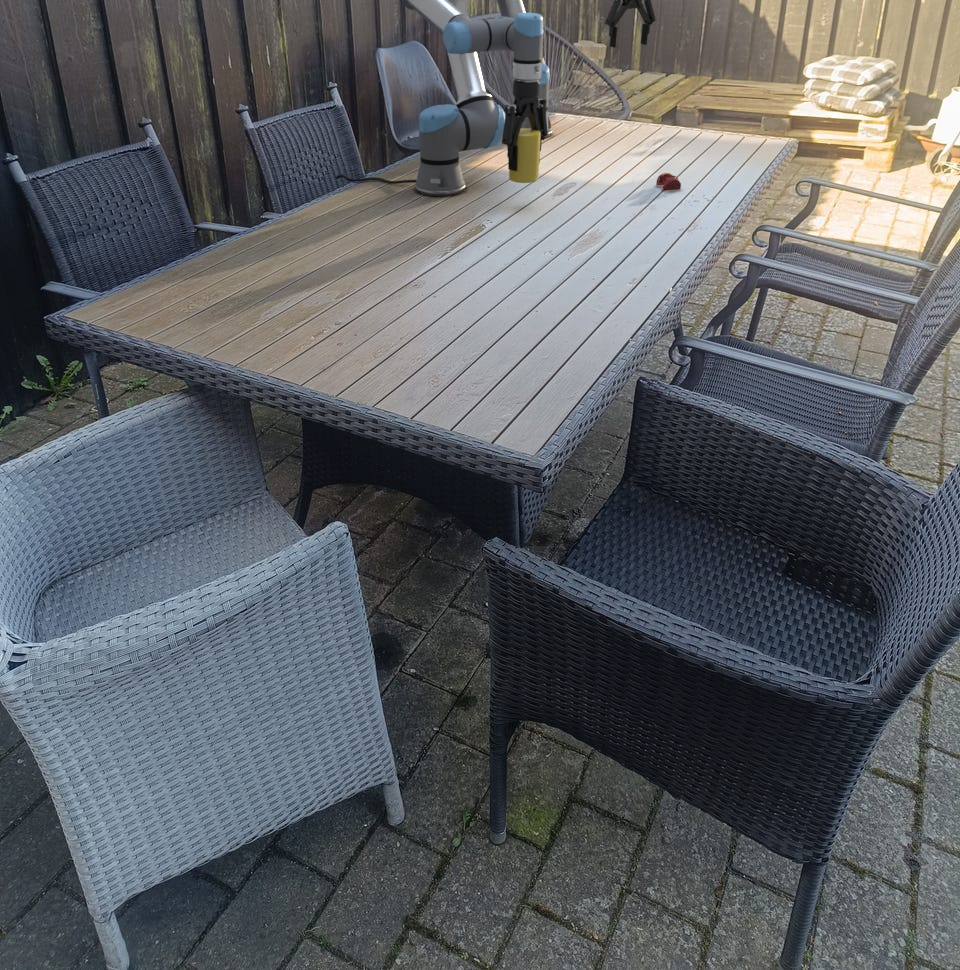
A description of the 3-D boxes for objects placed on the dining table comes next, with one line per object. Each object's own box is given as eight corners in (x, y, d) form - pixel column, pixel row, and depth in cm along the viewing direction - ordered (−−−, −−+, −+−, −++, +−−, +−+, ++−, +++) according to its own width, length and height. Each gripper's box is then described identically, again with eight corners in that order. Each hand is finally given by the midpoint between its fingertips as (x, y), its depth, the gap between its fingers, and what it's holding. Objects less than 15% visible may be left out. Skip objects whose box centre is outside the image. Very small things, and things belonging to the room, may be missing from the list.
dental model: (672, 169, 261) (683, 176, 255) (671, 183, 263) (682, 190, 257) (655, 171, 260) (666, 178, 254) (654, 185, 262) (665, 192, 256)
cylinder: (509, 174, 244) (510, 128, 236) (538, 174, 244) (540, 128, 236) (509, 182, 237) (510, 135, 230) (538, 183, 237) (541, 136, 229)
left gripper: (508, 87, 217) (506, 177, 230) (564, 76, 229) (559, 162, 242) (488, 82, 221) (487, 171, 235) (543, 72, 233) (540, 157, 247)
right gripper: (610, -20, 288) (605, 49, 300) (670, -23, 297) (662, 44, 309) (598, -22, 293) (593, 46, 306) (657, -25, 302) (650, 41, 315)
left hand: (524, 166), depth 238 cm, fingers closed on cylinder, 8 cm apart
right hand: (628, 45), depth 308 cm, fingers open, 13 cm apart
